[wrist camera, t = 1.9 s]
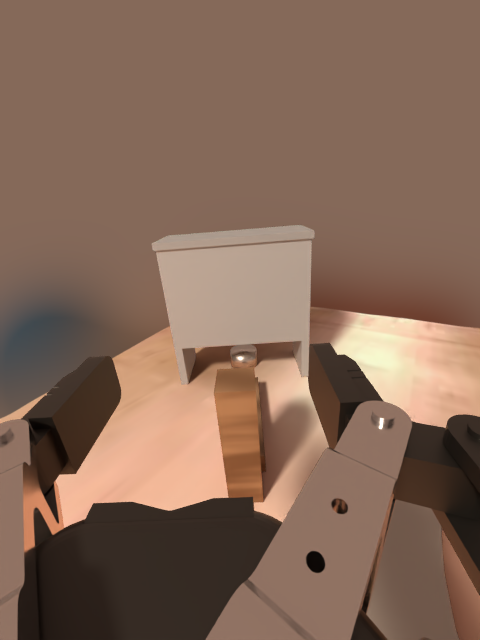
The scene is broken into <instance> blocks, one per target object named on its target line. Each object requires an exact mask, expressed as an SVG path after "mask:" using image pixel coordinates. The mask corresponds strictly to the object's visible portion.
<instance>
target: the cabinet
mask: <svg viewBox="0 0 480 640" xmlns="http://www.w3.org/2000/svg"><path fill="white" fill-rule="evenodd" d="M312 238H314V230H312V229H309V228H307V227H304V226H302V225H296V226H284V227H283V226H282V227H270V228H258V229H245V230H233V231H221V232H209V233H196V234H184V235H171V236H167V237H165V238H163V239H160V240H158V241H157V242H154V243H152V248H153V251H156V254H157V260H158V265H159V269H160V275H161V280H162V286H163V291H164V296H165V301H166V306H167V312H168V317H169V321H170V327H171V332H172V338H173V343H174V348H175V353H176V358H177V363H178V369H179V374H180V379H181V384H188V383H189V380H190V377H191V373H192V370H193V366H194V363H195V359H196V353H195V348H199V347H215V346H230V345H245V344H261V343H276V342H291V341H293V353H294V356H295V359H296V362H297V365H298V368H299V371H300V374H301V377H308V370H309V333H310V286H311V240H312Z"/></svg>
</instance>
